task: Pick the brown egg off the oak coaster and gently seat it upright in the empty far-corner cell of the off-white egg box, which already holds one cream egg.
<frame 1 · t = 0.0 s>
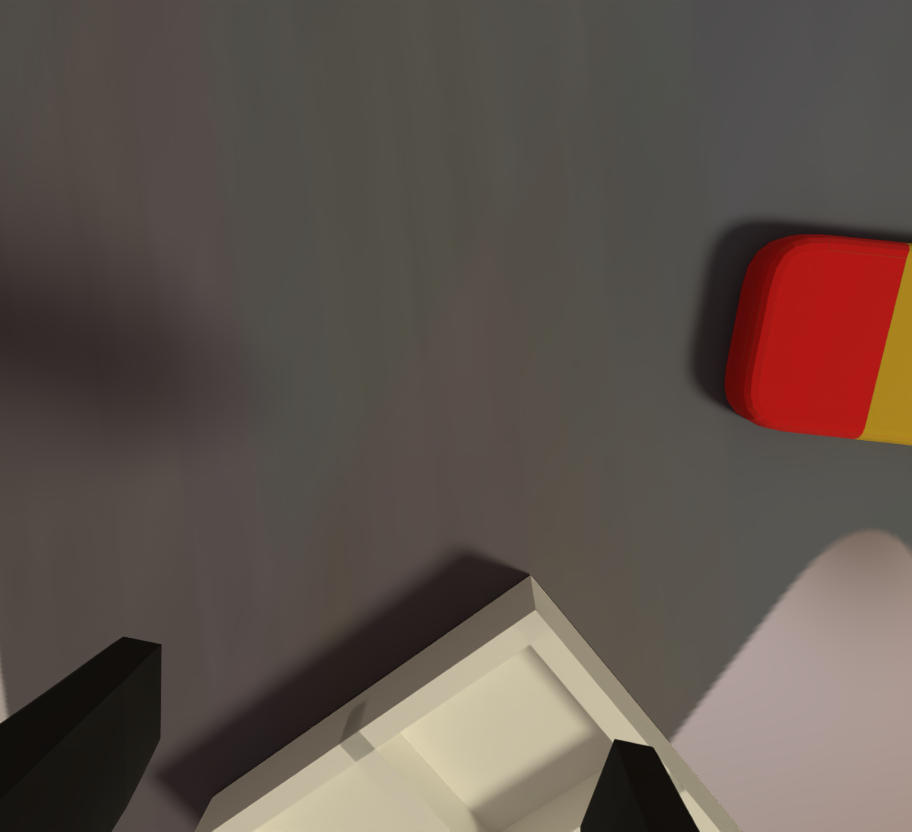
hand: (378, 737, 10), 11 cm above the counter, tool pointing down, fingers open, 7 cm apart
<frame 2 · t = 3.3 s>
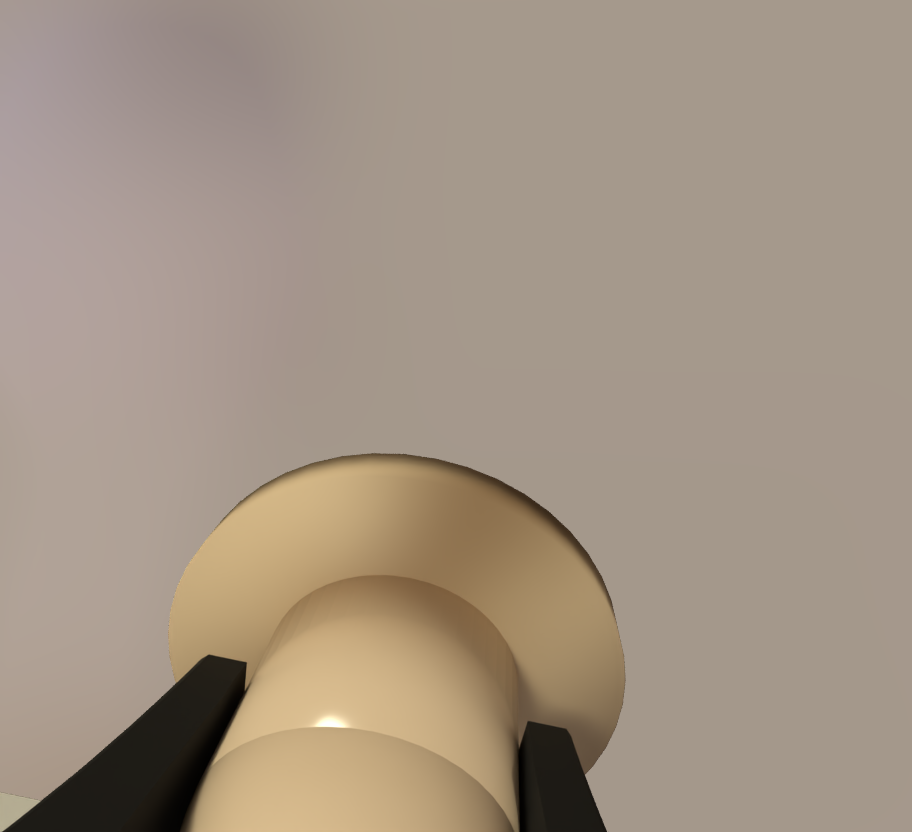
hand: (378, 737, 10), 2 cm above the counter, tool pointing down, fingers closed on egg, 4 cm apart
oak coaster: (399, 647, 12), on the counter
egg: (391, 680, 11), point 1 cm above the counter, touching gripper, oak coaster
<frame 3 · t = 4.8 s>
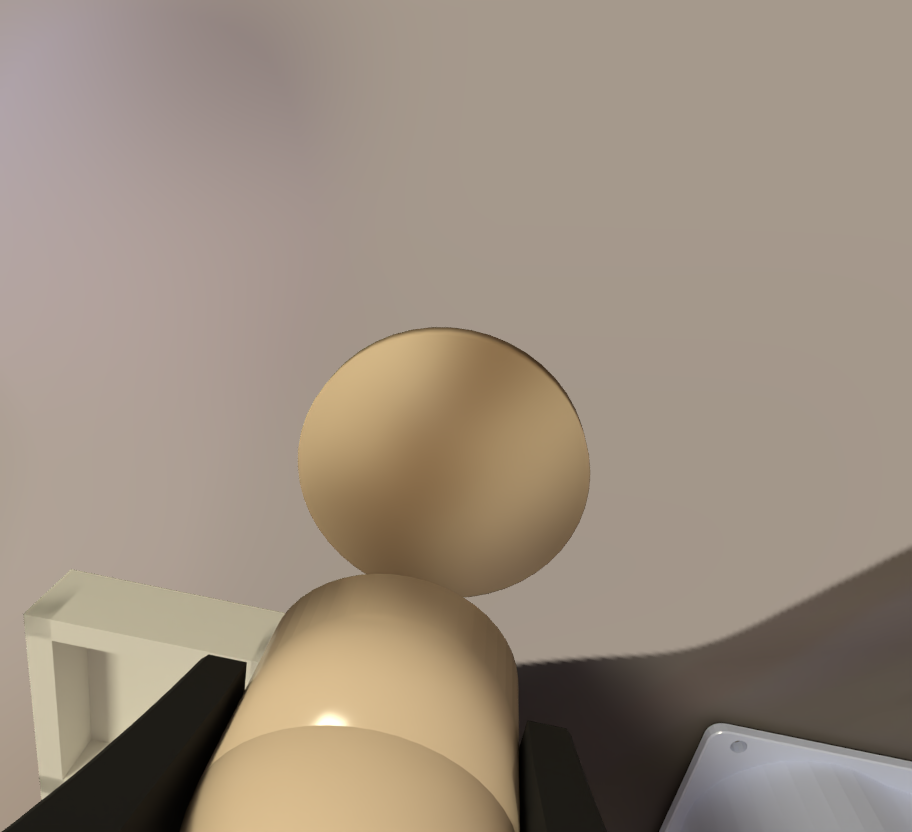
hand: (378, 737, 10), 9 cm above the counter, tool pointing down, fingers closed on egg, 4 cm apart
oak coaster: (444, 464, 18), on the counter
egg box: (266, 829, 25), on the counter
egg: (391, 678, 11), point 8 cm above the counter, touching gripper
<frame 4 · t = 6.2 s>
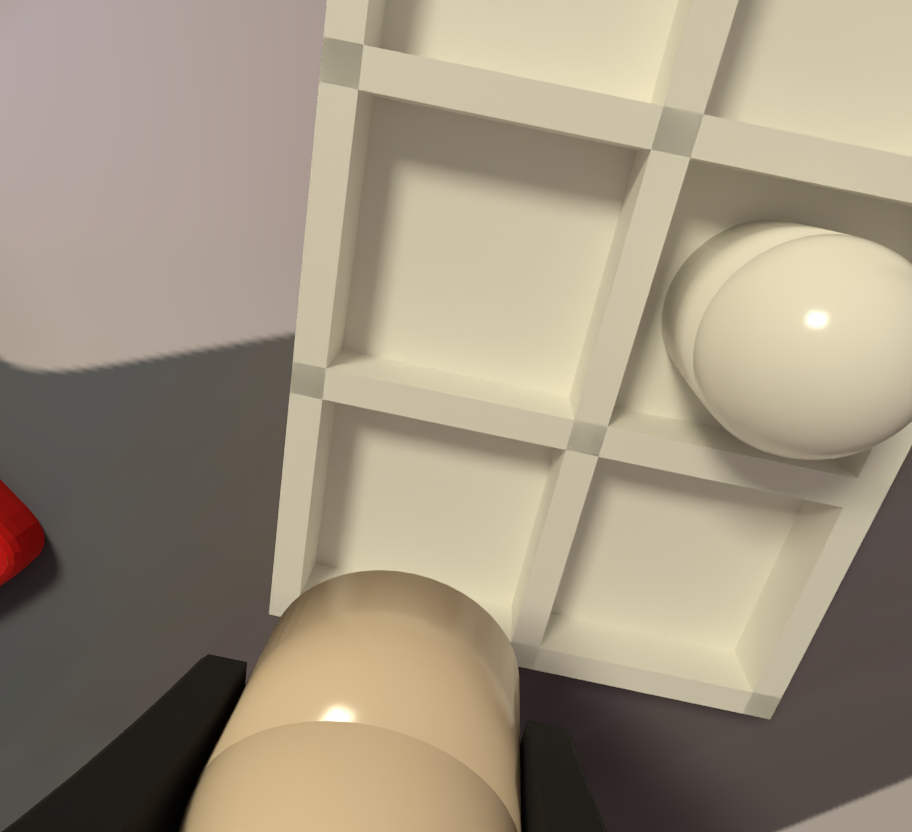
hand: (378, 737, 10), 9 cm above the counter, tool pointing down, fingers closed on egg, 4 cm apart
egg box: (613, 281, 16), on the counter
egg: (392, 676, 11), point 8 cm above the counter, touching gripper
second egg: (754, 314, 15), point 1 cm above the counter, touching egg box
when the fingers open (3 cm above the counter, at t = 8.2 s): egg drops 1 cm, resting on egg box.
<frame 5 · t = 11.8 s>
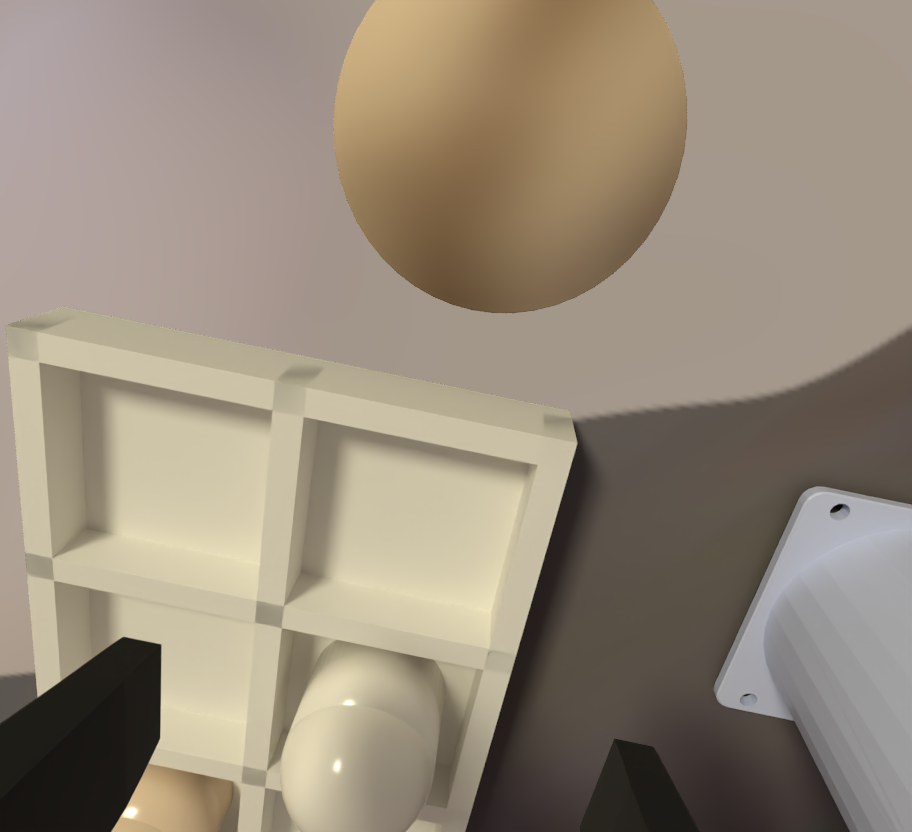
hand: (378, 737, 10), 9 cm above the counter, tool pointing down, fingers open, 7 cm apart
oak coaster: (506, 140, 15), on the counter
egg box: (284, 650, 22), on the counter
egg: (175, 781, 24), point 1 cm above the counter, touching egg box
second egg: (378, 684, 21), point 1 cm above the counter, touching egg box
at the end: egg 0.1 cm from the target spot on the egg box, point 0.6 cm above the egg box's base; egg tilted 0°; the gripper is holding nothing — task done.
